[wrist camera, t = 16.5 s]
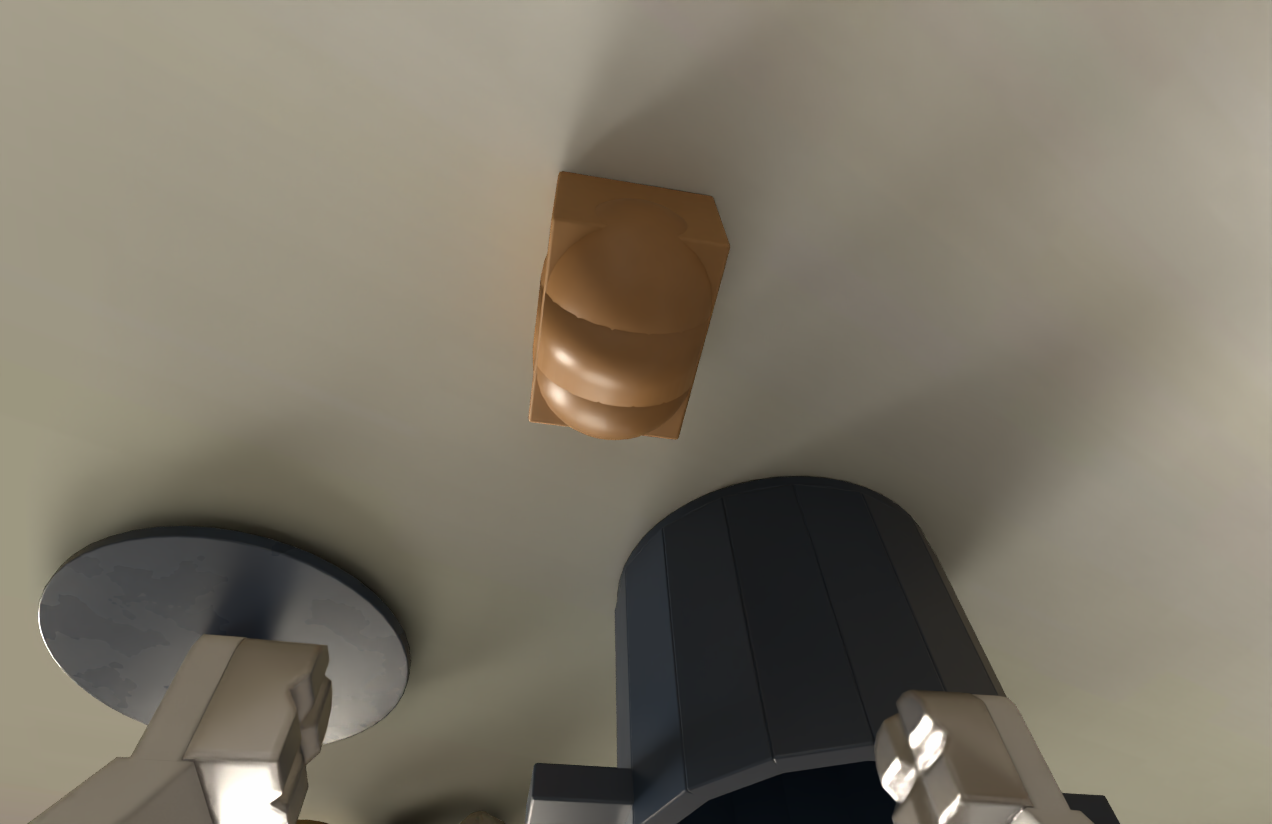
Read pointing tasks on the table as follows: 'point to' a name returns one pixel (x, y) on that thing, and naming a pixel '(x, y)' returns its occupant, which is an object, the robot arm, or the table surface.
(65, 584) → the lid
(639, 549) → the pot
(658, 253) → the brown rounded block
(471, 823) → the ceramic sculpture
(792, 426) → the table surface
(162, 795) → the robot arm
